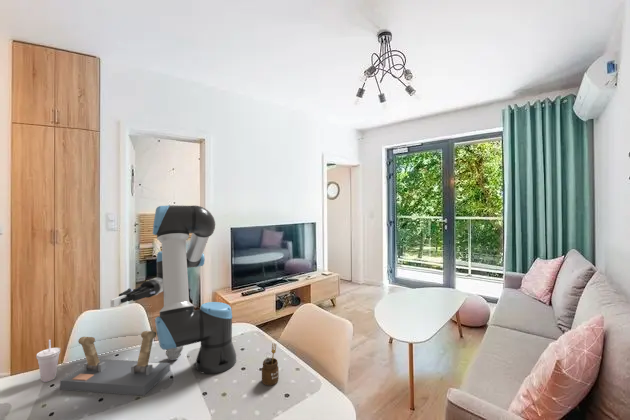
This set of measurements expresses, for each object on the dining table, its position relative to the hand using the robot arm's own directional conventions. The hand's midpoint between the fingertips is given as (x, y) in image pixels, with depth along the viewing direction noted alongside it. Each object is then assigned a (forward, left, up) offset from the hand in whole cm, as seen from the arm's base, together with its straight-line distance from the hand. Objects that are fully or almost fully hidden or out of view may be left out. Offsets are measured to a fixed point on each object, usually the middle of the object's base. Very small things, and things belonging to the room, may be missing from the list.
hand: (112, 303), depth 111 cm
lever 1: (0, +8, -21) cm, 22 cm away
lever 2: (-18, +9, -21) cm, 29 cm away
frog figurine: (-21, -7, -24) cm, 33 cm away
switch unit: (-9, +8, -24) cm, 27 cm away
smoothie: (+16, +10, -24) cm, 31 cm away
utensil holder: (-63, +3, -24) cm, 68 cm away
